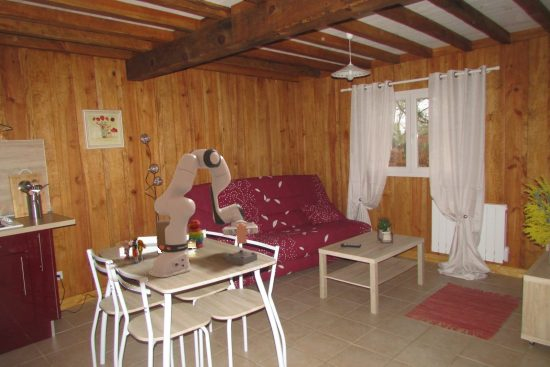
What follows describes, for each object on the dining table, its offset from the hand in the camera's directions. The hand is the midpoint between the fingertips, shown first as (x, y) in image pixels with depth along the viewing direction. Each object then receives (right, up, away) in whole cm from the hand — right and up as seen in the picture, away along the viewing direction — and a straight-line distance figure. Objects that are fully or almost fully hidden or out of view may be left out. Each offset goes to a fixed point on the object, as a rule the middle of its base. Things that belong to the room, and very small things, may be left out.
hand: (241, 233), depth 220 cm
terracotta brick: (0, -5, +1) cm, 6 cm away
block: (-48, -15, +25) cm, 57 cm away
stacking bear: (-33, -14, +37) cm, 51 cm away
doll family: (-63, -17, +10) cm, 66 cm away
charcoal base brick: (0, -16, +2) cm, 17 cm away
